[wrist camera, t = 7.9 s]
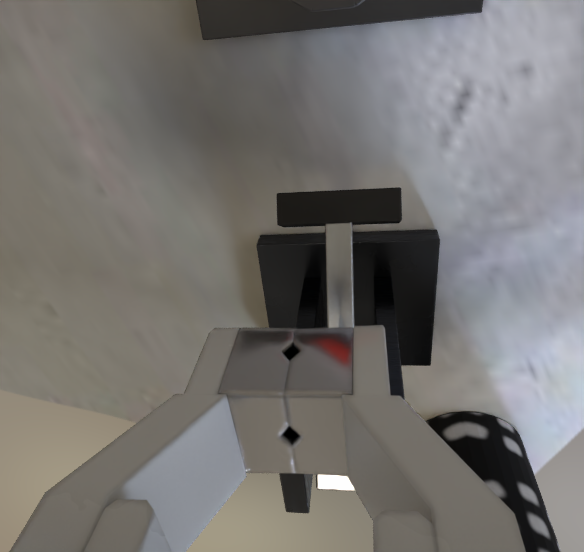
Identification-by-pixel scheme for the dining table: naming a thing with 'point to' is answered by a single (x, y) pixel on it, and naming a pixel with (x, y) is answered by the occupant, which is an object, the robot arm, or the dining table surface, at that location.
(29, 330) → the dining table surface
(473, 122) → the dining table surface
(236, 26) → the button housing
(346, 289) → the toast lever
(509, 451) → the spotted tube
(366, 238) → the lever bracket
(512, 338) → the dining table surface
